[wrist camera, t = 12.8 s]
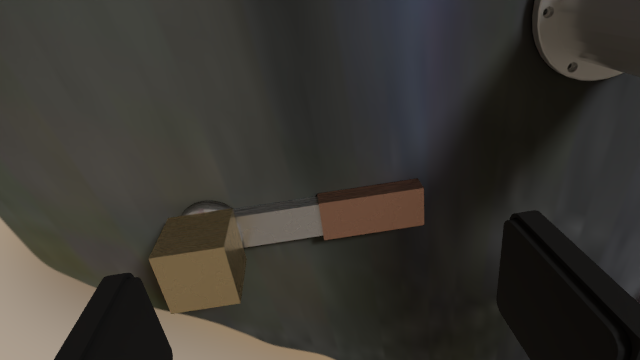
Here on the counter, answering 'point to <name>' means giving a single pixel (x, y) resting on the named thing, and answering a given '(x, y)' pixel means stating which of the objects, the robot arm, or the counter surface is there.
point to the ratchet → (328, 213)
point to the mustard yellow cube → (200, 261)
